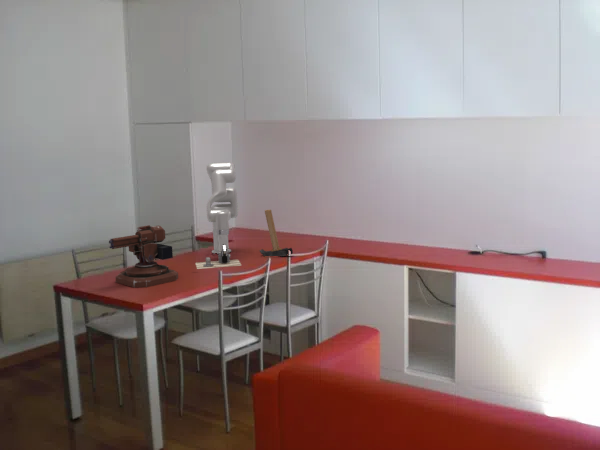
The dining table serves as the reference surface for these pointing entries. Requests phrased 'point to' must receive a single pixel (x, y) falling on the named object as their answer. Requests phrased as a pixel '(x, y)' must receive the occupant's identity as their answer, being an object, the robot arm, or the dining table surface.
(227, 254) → the cap
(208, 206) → the robot arm
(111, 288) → the dining table surface
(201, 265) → the board
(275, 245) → the hammer
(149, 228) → the model turret
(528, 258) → the dining table surface
